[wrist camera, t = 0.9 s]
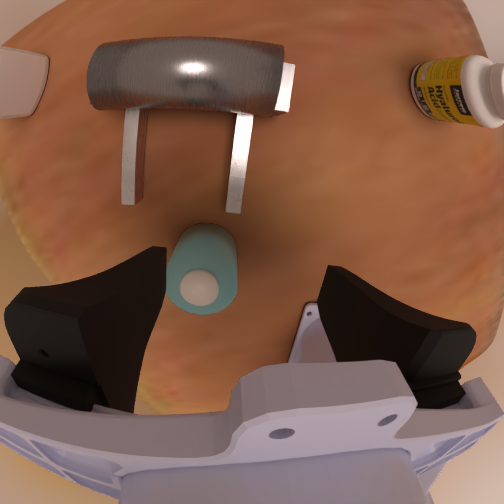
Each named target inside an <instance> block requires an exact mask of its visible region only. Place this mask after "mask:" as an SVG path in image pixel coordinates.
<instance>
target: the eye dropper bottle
mask: <svg viewBox="0 0 504 504" xmlns="http://www.w3.org/2000/svg"><path fill="white" fill-rule="evenodd" d="M48 68H49V59H48V57H47V56H46V55H43V54H39V53H35V52H30V51H26V50H21V49H16V48H10V47H4V46H0V119H6V118H16V117H26V116H30V115H31V114H32V113H33V112H34V110H35V109H36V107H37V105H38V103H39V101H40V98H41V96H42V93H43V91H44V87H45V84H46V80H47V75H48Z"/></svg>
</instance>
